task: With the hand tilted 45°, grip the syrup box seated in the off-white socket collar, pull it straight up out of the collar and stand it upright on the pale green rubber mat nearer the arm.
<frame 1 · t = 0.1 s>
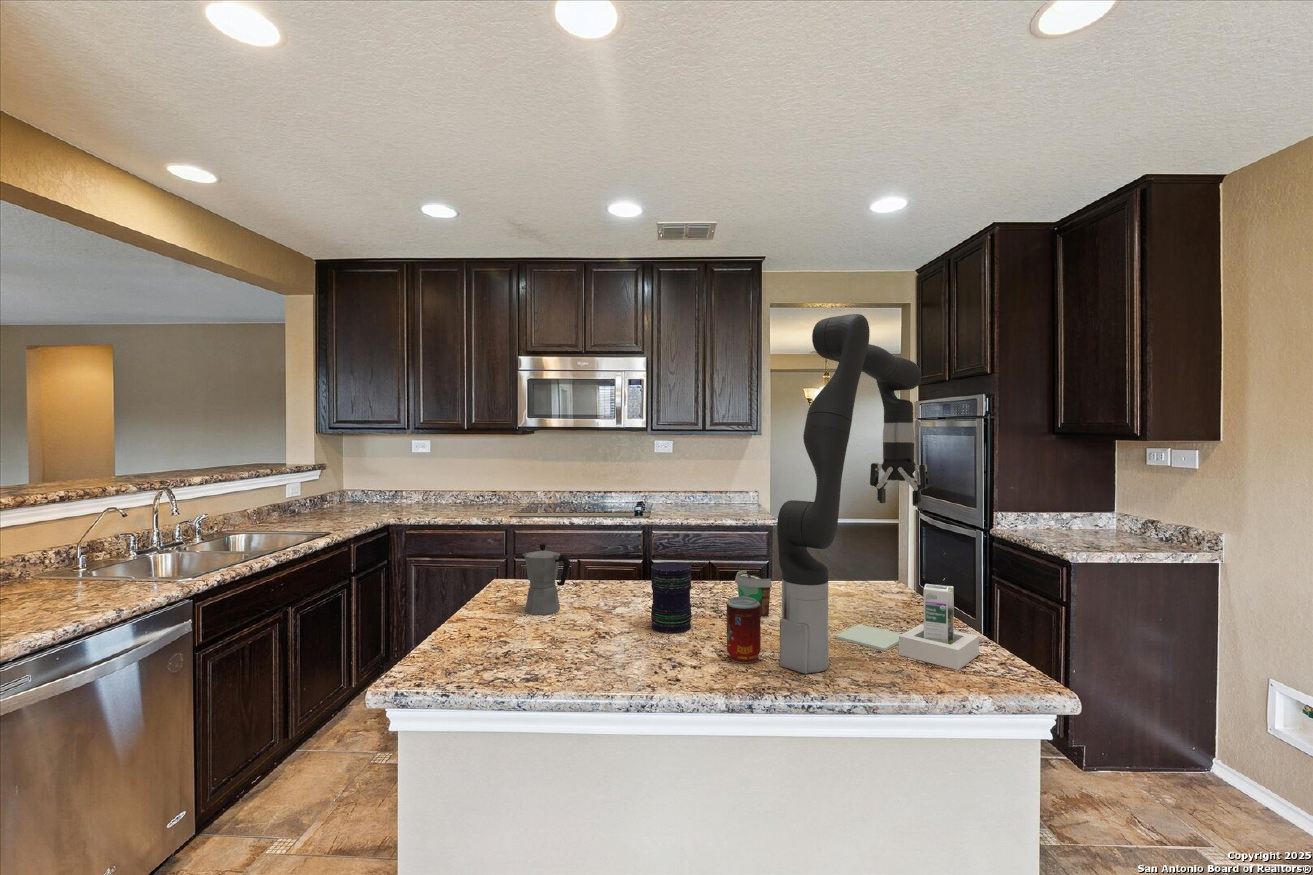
hand: (898, 504, 154), 29 cm above the countertop, tool pointing down, fingers open, 8 cm apart
soda can: (743, 659, 127), on the countertop
socket collar: (938, 654, 128), on the countertop
coffeepot: (546, 612, 161), on the countertop
storage jar: (671, 628, 147), on the countertop
green mat: (871, 638, 139), on the countertop
food container: (748, 613, 159), on the countertop
syrup box: (938, 655, 128), resting in socket collar
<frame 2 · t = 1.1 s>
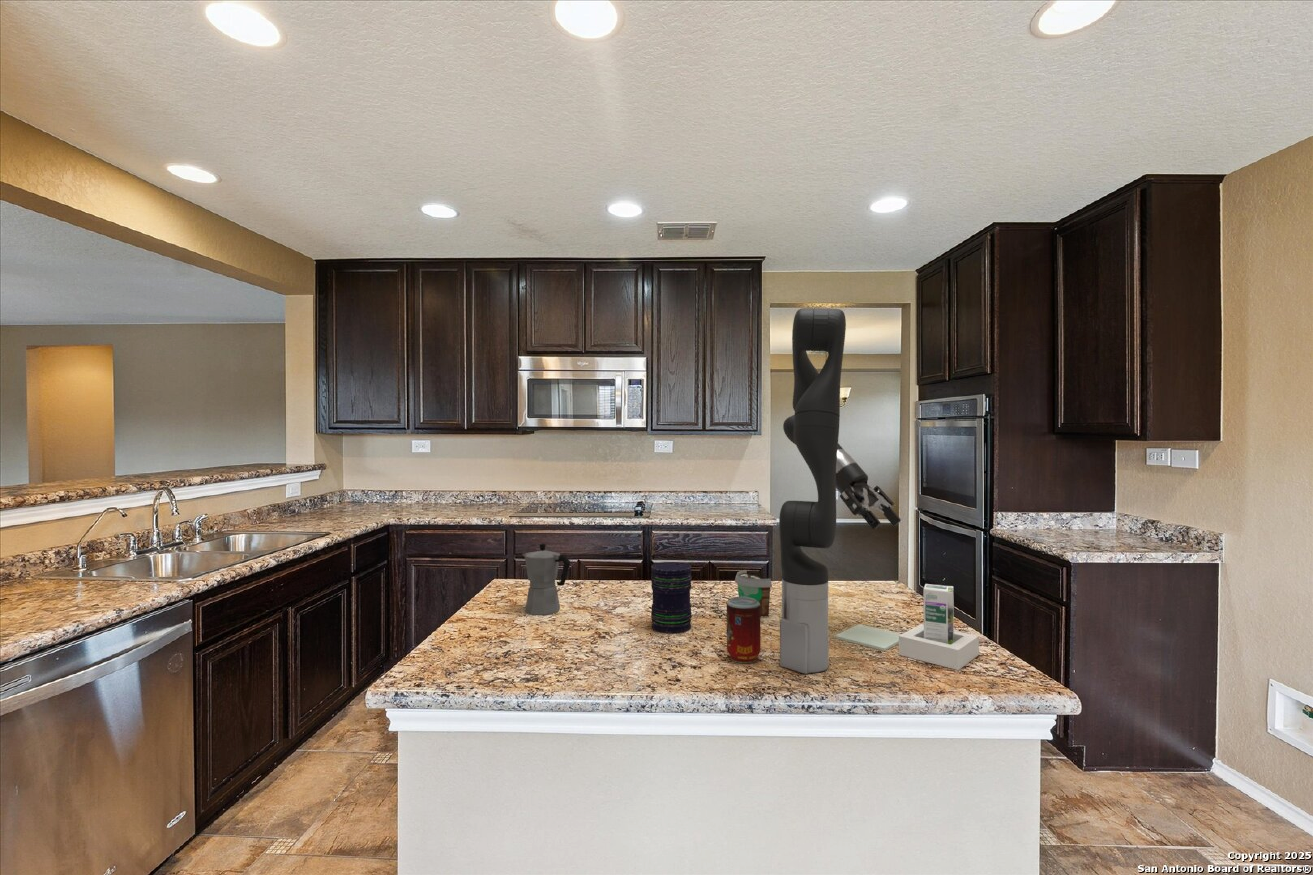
hand: (887, 524, 137), 26 cm above the countertop, tool tilted 45°, fingers open, 8 cm apart
nothing on the countertop moved.
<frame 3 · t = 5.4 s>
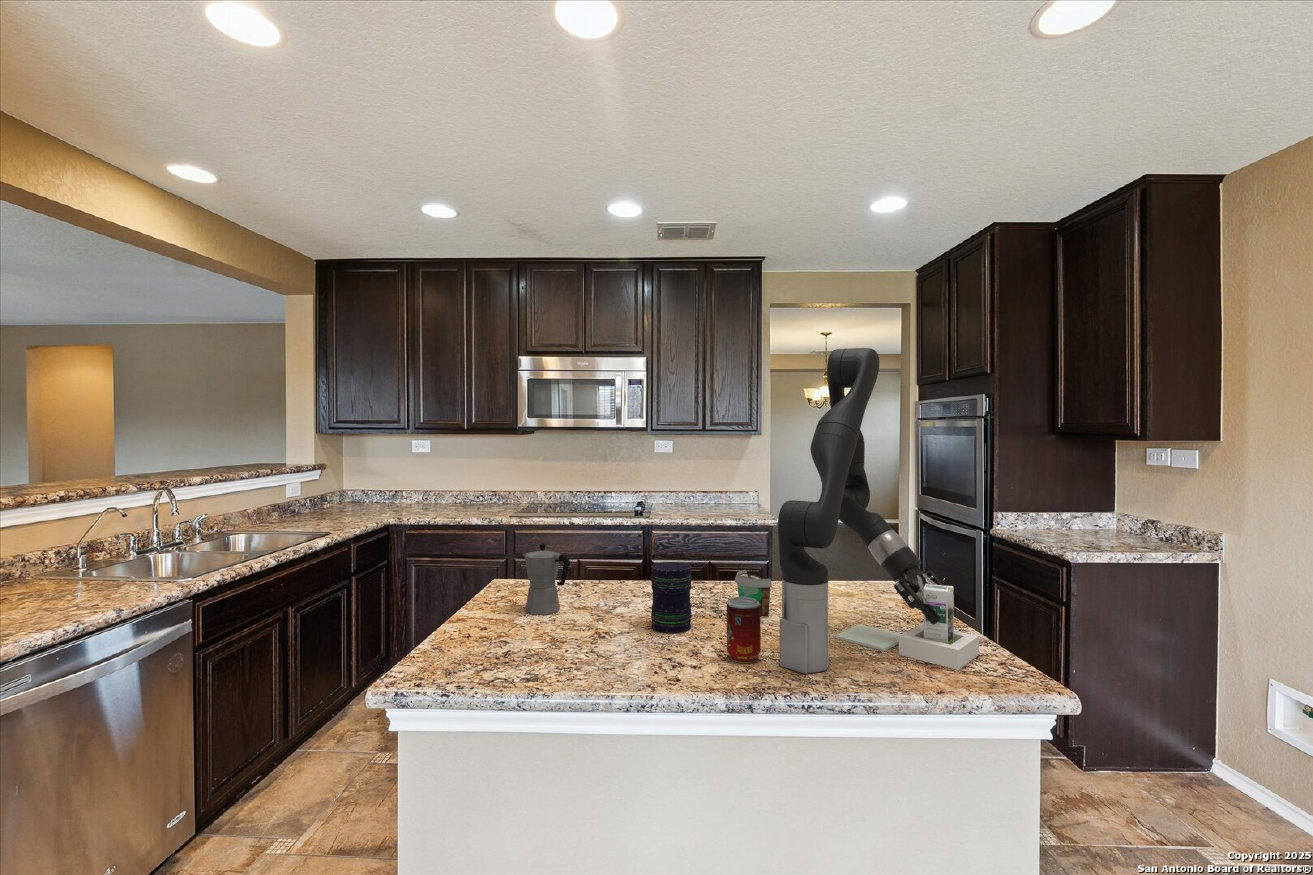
hand: (945, 618, 127), 8 cm above the countertop, tool tilted 45°, fingers closed on syrup box, 7 cm apart
syrup box: (938, 655, 128), resting in socket collar, touching gripper
everything else where it was.
when the fingers open (10 cm above the countertop, at t = 12.5 s): syrup box drops 1 cm, resting on green mat.
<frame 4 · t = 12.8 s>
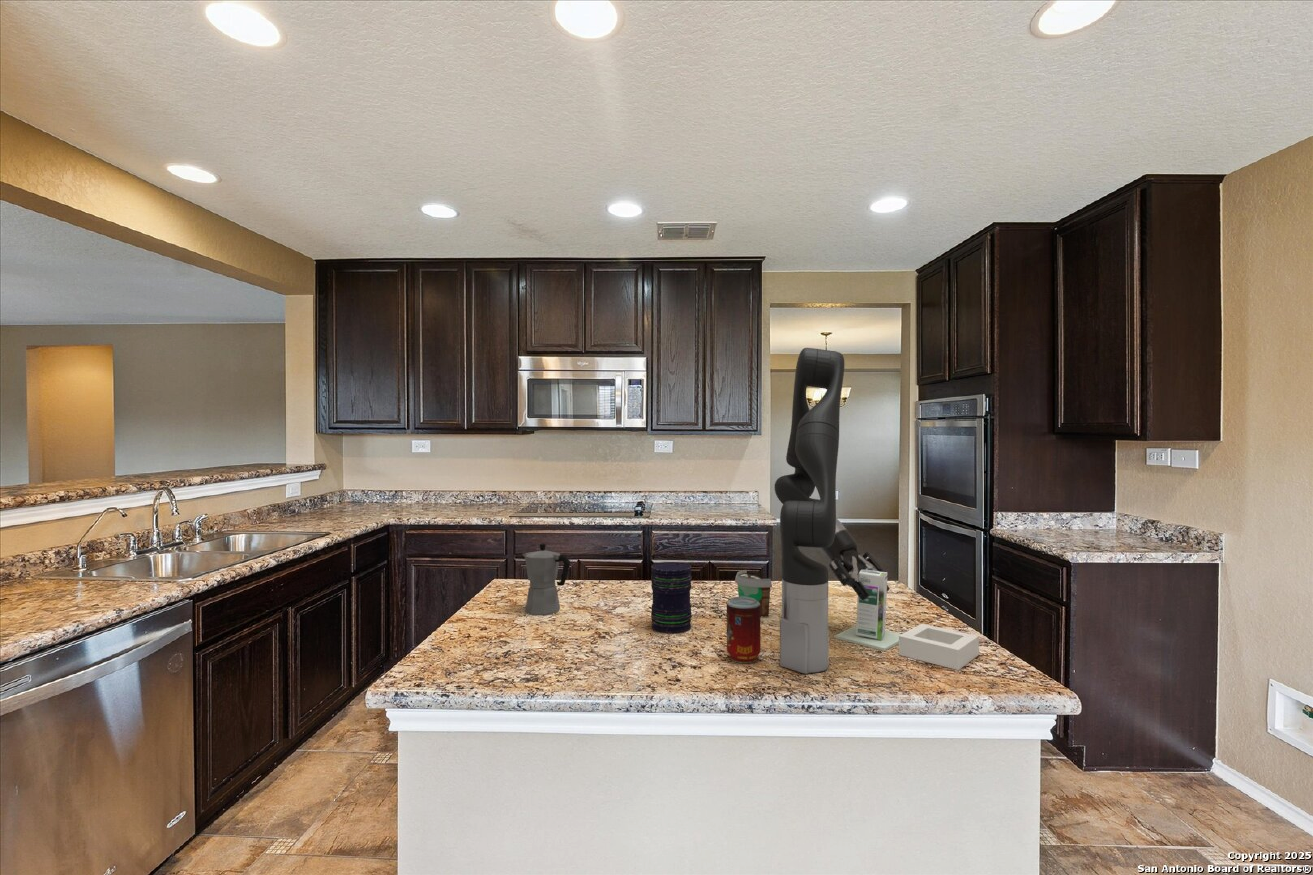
hand: (876, 594, 138), 10 cm above the countertop, tool tilted 45°, fingers open, 8 cm apart
syrup box: (870, 635, 139), point 1 cm above the countertop, touching green mat, gripper
everything else where it was.
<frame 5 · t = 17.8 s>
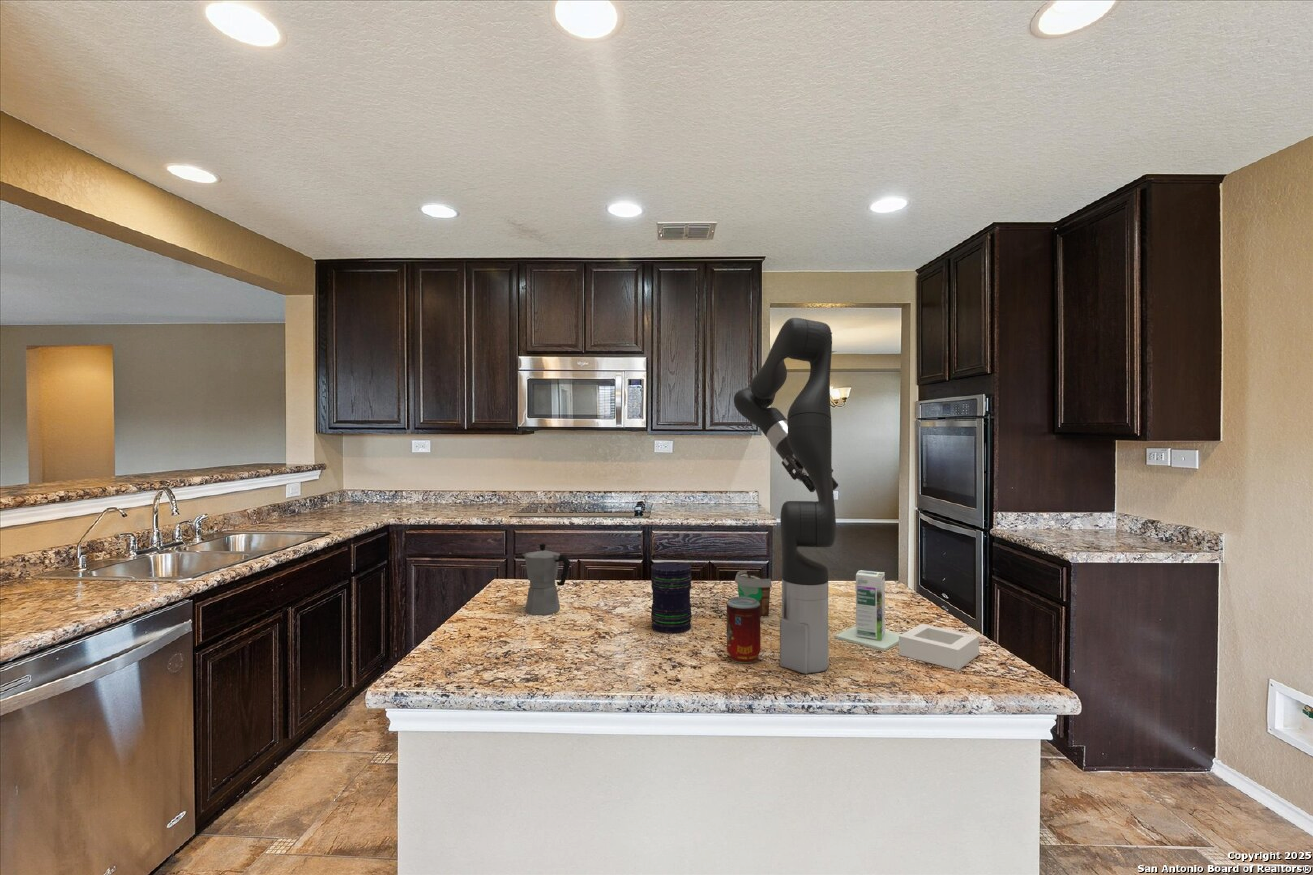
hand: (825, 489, 147), 34 cm above the countertop, tool tilted 45°, fingers open, 8 cm apart
syrup box: (870, 636, 139), resting on green mat
everything else where it was.
at the end: syrup box inside the target area on the green mat (0.2 cm from its centre), point 0.4 cm above the green mat's base; syrup box tilted 0°; the gripper is holding nothing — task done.
